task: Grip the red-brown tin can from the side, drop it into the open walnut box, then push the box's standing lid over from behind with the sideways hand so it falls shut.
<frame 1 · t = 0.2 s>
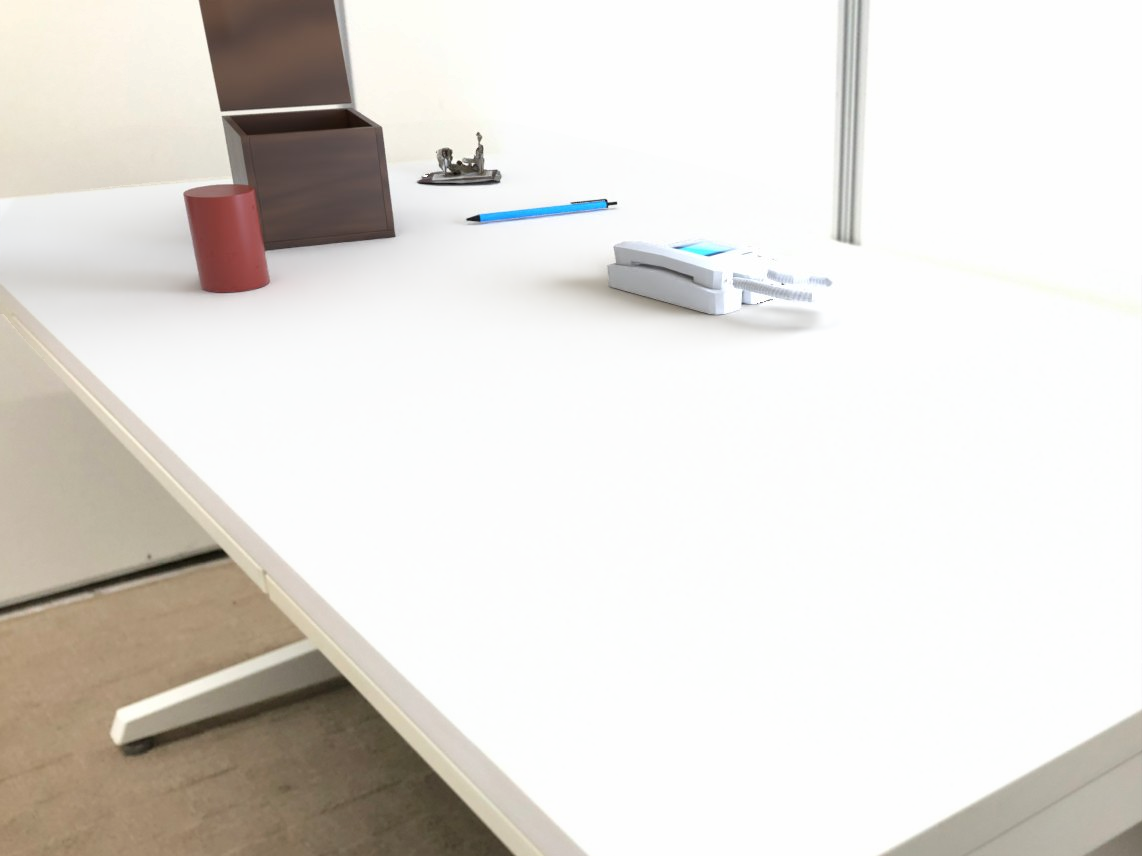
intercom: (743, 297, 124), on the table
box: (315, 228, 150), on the table
box lid: (272, 27, 149), point 21 cm above the table, hinge at 105.1°
pewter figure scene: (459, 180, 176), on the table
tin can: (235, 283, 128), on the table
pen: (543, 216, 155), on the table
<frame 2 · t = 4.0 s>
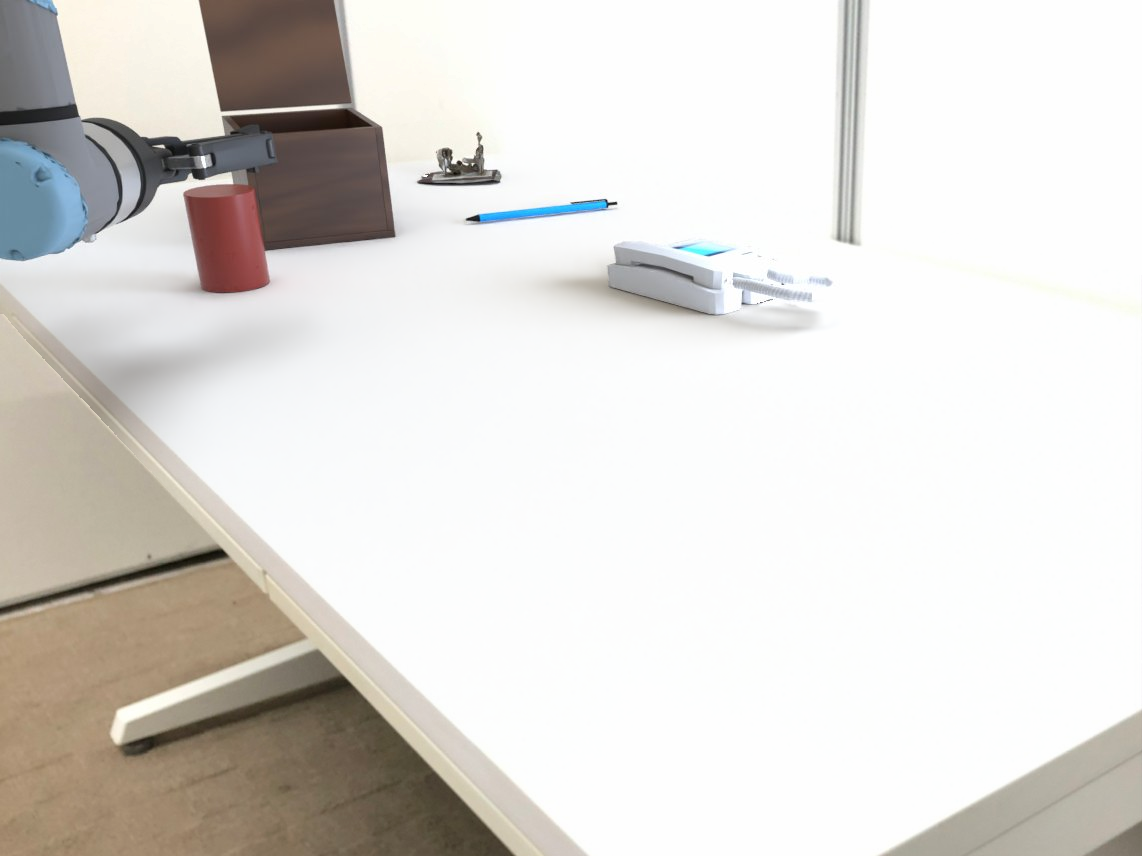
hand: (178, 144, 115), 14 cm above the table, tool horizontal, fingers open, 13 cm apart
nothing on the table moved.
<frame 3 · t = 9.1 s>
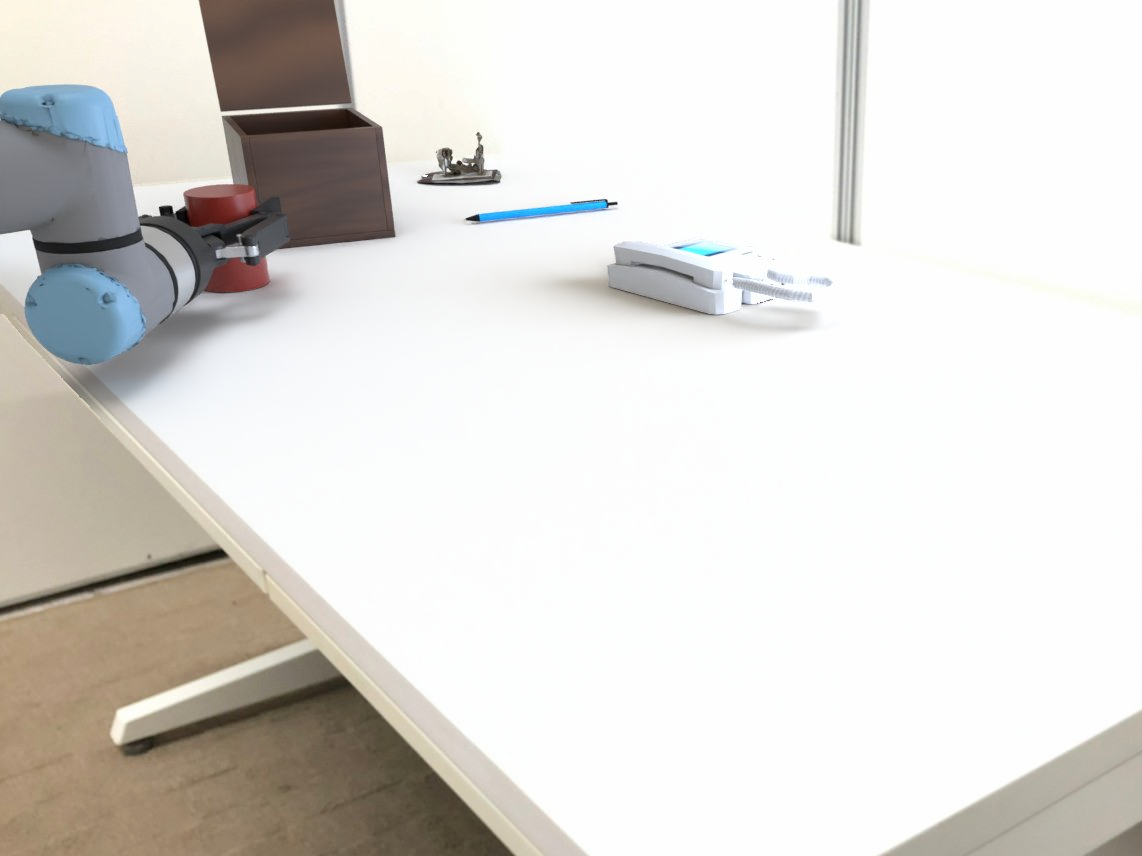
hand: (241, 211, 130), 6 cm above the table, tool horizontal, fingers closed on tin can, 6 cm apart
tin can: (235, 283, 128), on the table, touching gripper
everything else where it was.
when the fingers open (16 cm above the table, at t = 16.4 s): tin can drops 9 cm, resting on box.
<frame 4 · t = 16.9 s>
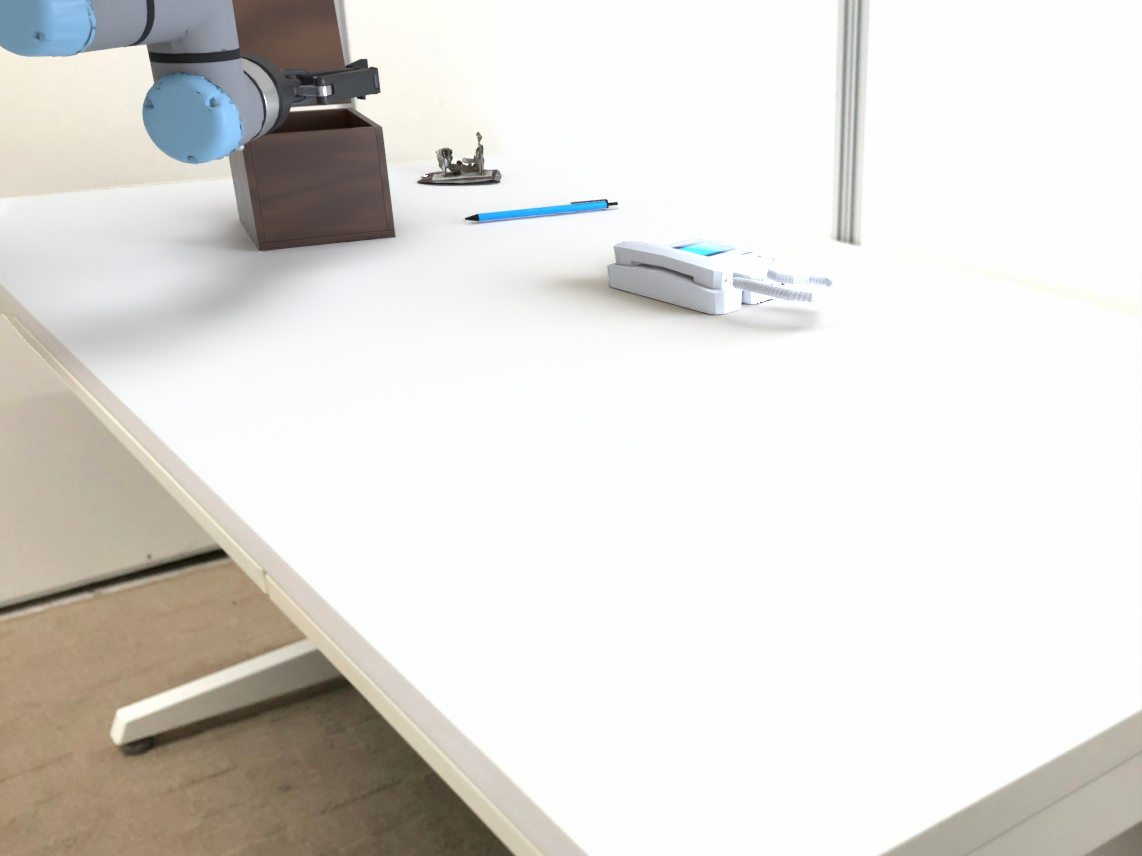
hand: (304, 71, 144), 17 cm above the table, tool horizontal, fingers open, 13 cm apart
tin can: (317, 224, 148), point 1 cm above the table, touching box
everything else where it was.
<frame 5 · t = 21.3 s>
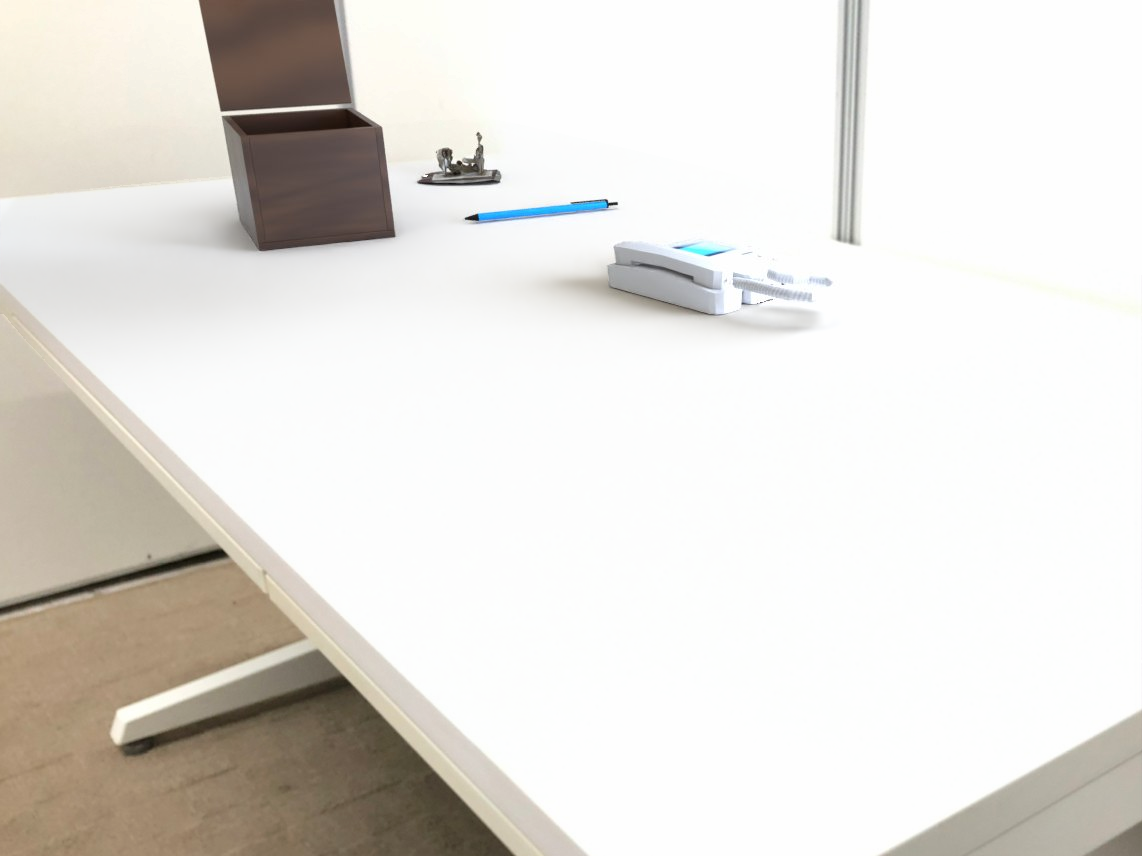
nothing on the table moved.
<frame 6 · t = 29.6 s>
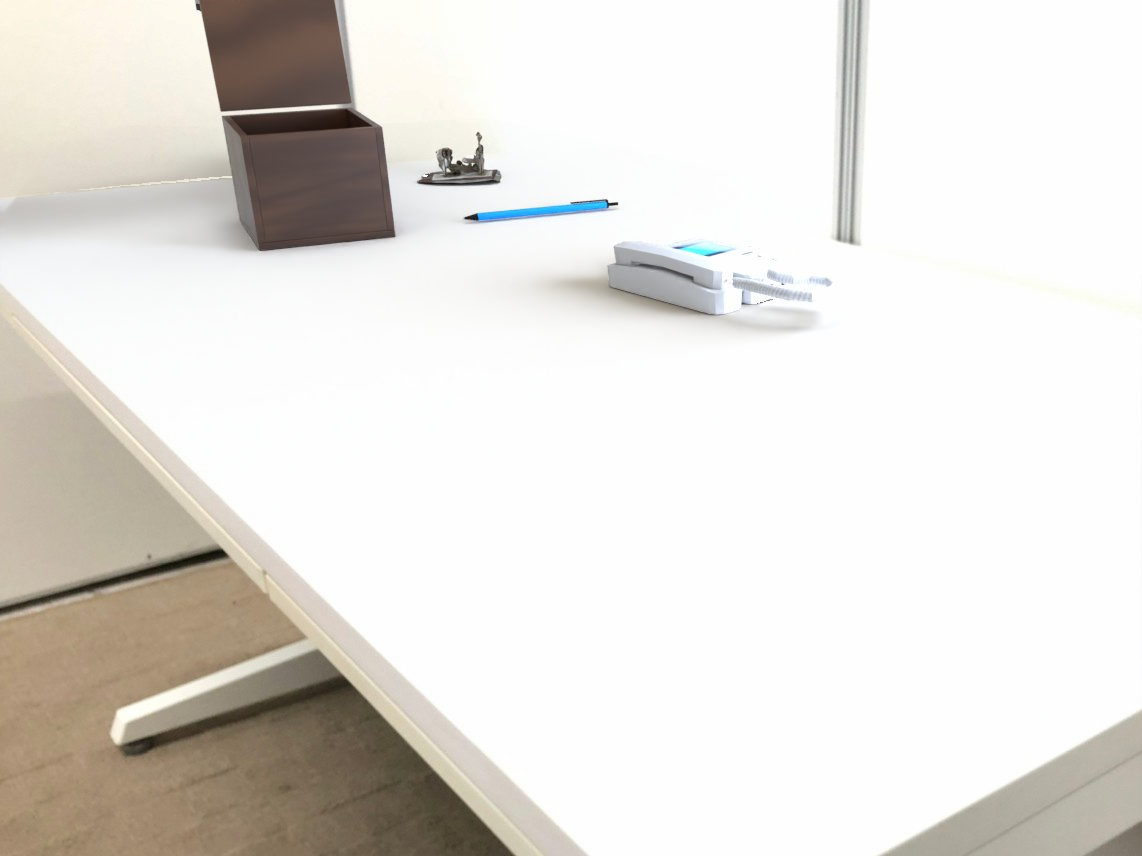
hand: (267, 6, 149), 23 cm above the table, tool horizontal, fingers closed
box lid: (272, 27, 149), point 21 cm above the table, hinge at 103.1°, touching gripper
everything else where it was.
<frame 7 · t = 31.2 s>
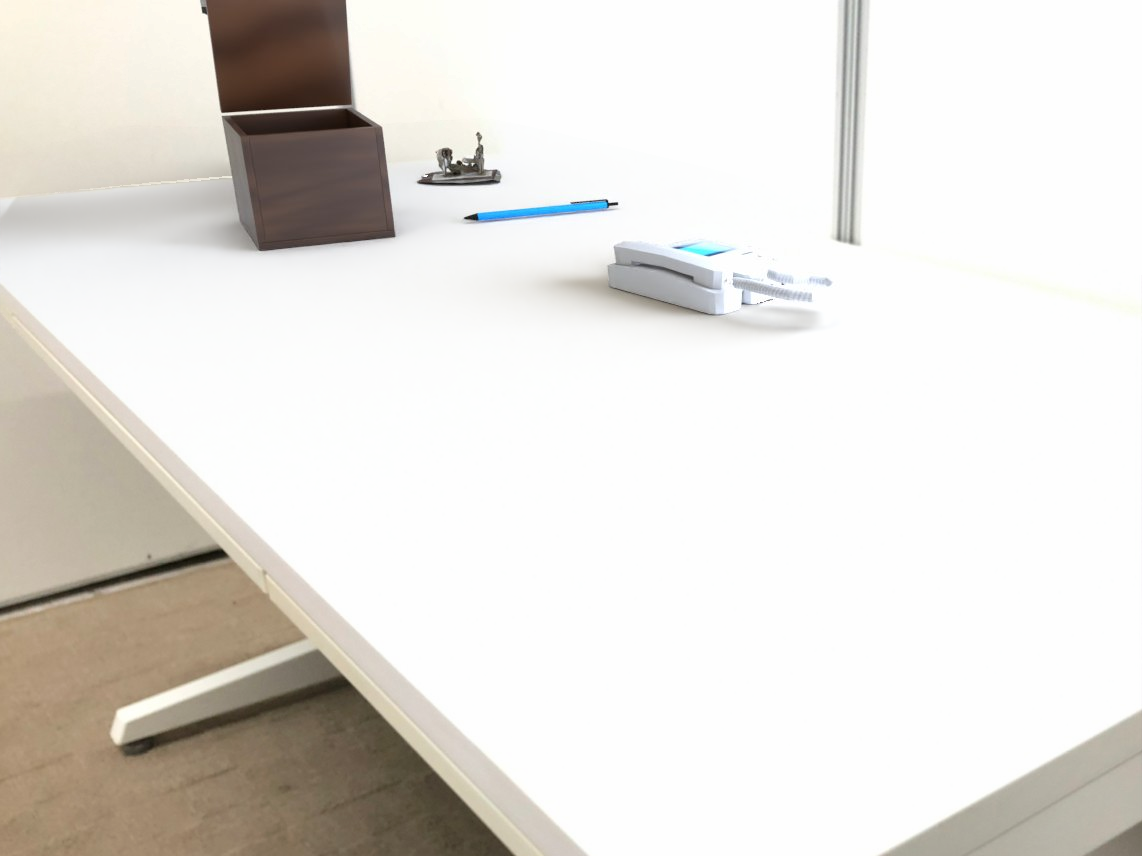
hand: (276, 9, 144), 23 cm above the table, tool horizontal, fingers closed
box lid: (280, 34, 145), point 20 cm above the table, hinge at 68.1°
everything else where it was.
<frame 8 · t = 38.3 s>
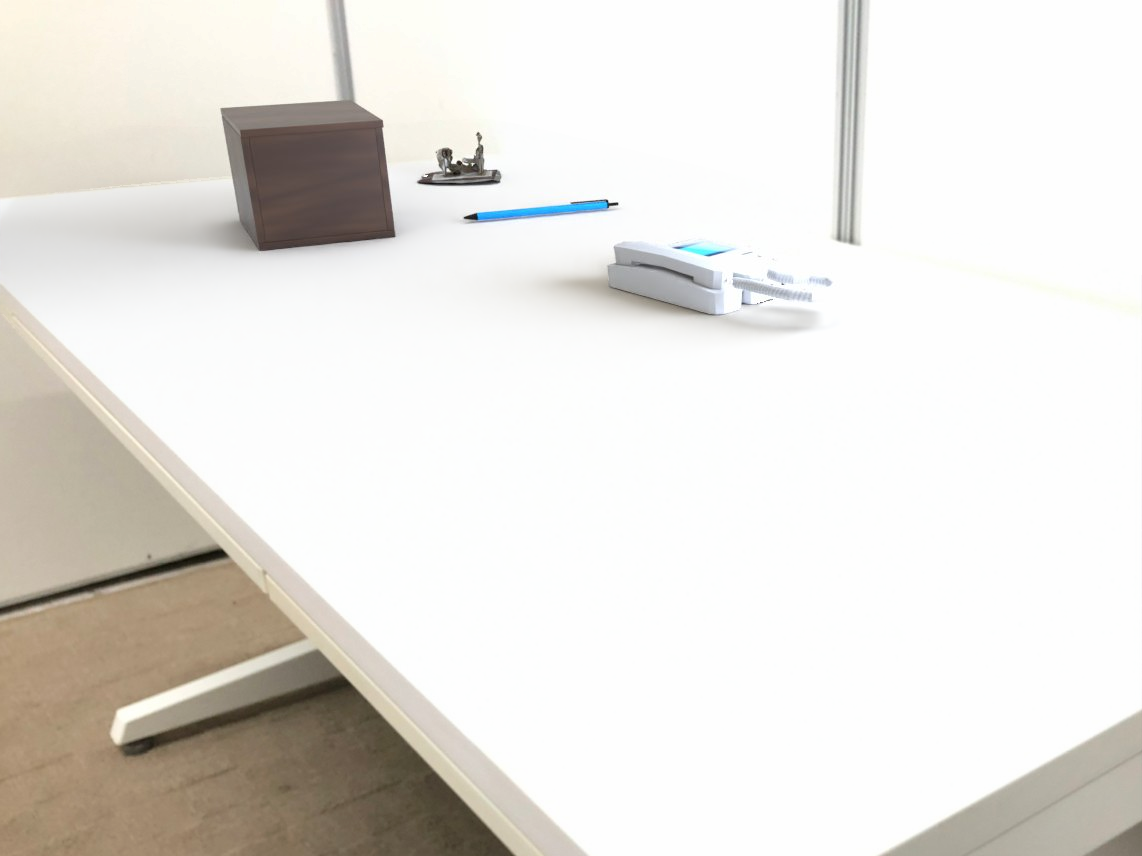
box lid: (299, 117, 144), point 12 cm above the table, hinge at -0.1°
everything else where it was.
at the end: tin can 1.6 cm from the box (horizontally); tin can point 0.8 cm above the table; box lid at +0° (first picture: +105°) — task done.
